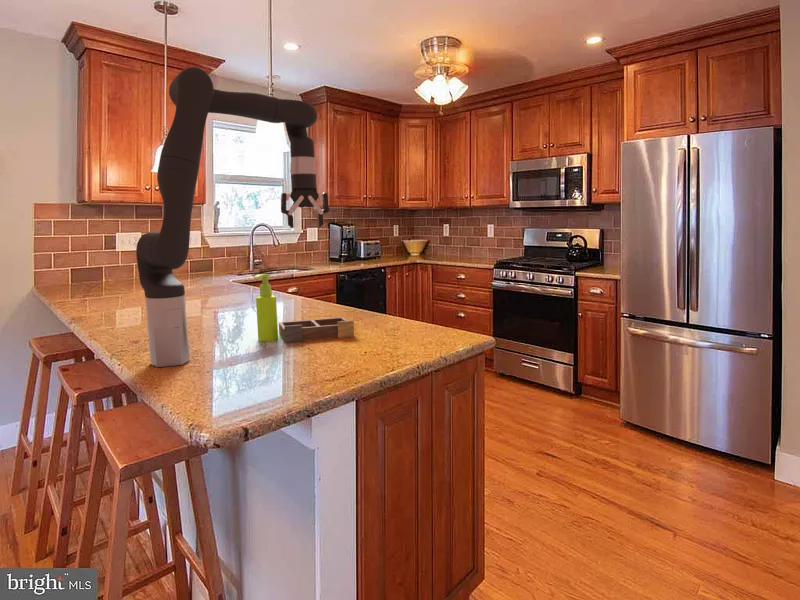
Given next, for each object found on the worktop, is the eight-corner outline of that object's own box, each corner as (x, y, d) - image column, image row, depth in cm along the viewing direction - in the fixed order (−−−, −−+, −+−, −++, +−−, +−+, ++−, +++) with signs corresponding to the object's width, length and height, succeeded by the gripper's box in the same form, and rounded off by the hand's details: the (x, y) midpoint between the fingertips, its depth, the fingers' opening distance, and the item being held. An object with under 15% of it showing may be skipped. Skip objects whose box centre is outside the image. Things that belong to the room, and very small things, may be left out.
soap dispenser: (251, 341, 155) (247, 274, 152) (267, 336, 161) (264, 272, 158) (266, 343, 153) (263, 275, 150) (282, 338, 159) (279, 273, 156)
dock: (354, 336, 160) (353, 320, 159) (285, 343, 152) (284, 326, 152) (343, 328, 172) (343, 313, 171) (279, 334, 165) (278, 318, 164)
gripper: (281, 172, 150) (284, 228, 152) (329, 172, 155) (331, 227, 157) (277, 174, 157) (280, 228, 159) (323, 174, 162) (325, 226, 164)
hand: (306, 227), depth 158 cm, fingers open, 8 cm apart
